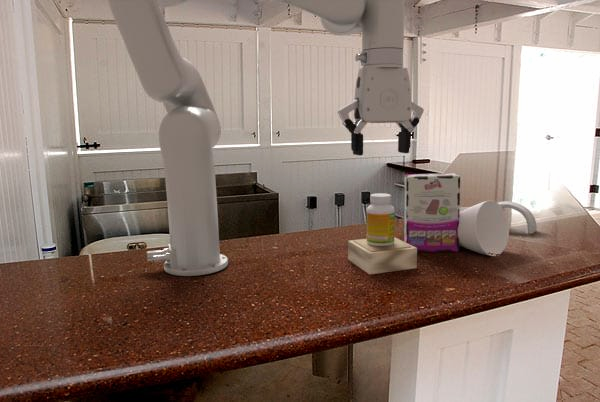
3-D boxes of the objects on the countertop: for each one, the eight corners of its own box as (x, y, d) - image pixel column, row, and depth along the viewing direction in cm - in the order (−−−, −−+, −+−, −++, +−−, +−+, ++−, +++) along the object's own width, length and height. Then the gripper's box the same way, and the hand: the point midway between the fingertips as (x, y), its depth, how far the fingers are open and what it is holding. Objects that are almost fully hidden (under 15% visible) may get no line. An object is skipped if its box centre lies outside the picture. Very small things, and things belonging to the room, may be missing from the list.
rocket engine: (418, 197, 114) (485, 189, 100) (446, 223, 119) (514, 219, 105) (401, 239, 110) (469, 237, 95) (431, 264, 115) (500, 266, 100)
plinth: (369, 274, 90) (369, 252, 89) (348, 259, 99) (347, 239, 99) (416, 268, 93) (417, 247, 92) (391, 254, 102) (391, 234, 102)
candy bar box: (453, 246, 107) (456, 172, 104) (459, 252, 102) (461, 175, 100) (402, 245, 108) (403, 173, 105) (405, 252, 104) (406, 176, 101)
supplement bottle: (394, 247, 92) (394, 197, 90) (365, 246, 93) (365, 197, 92) (394, 240, 97) (395, 192, 96) (367, 239, 98) (367, 192, 97)
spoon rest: (431, 226, 127) (432, 199, 125) (448, 218, 136) (448, 193, 135) (529, 238, 113) (531, 208, 111) (540, 228, 122) (541, 200, 121)
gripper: (347, 57, 83) (347, 157, 86) (434, 59, 88) (431, 153, 91) (331, 62, 90) (331, 154, 93) (413, 63, 95) (410, 150, 98)
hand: (381, 153), depth 92 cm, fingers open, 9 cm apart
